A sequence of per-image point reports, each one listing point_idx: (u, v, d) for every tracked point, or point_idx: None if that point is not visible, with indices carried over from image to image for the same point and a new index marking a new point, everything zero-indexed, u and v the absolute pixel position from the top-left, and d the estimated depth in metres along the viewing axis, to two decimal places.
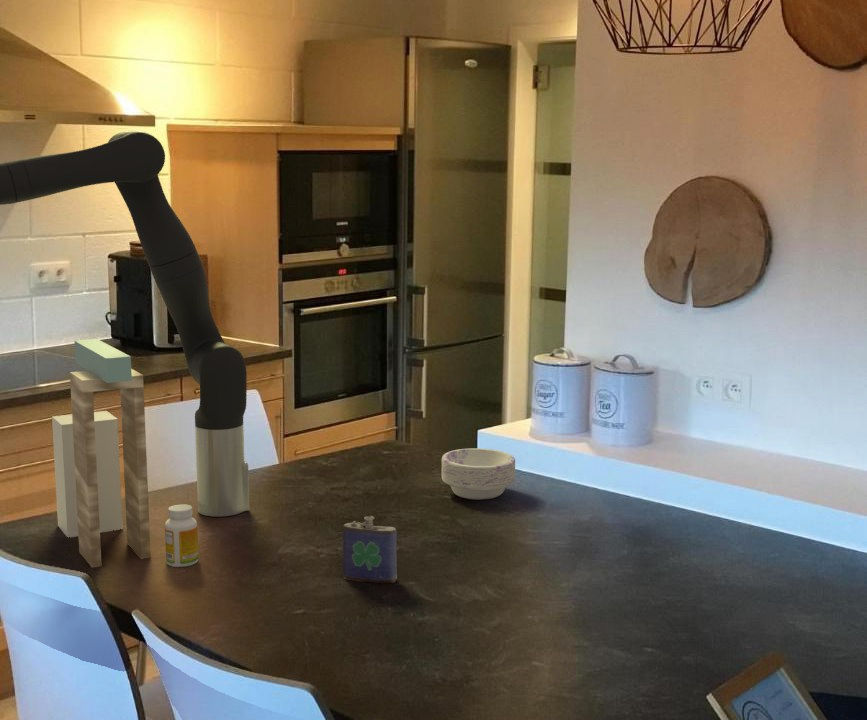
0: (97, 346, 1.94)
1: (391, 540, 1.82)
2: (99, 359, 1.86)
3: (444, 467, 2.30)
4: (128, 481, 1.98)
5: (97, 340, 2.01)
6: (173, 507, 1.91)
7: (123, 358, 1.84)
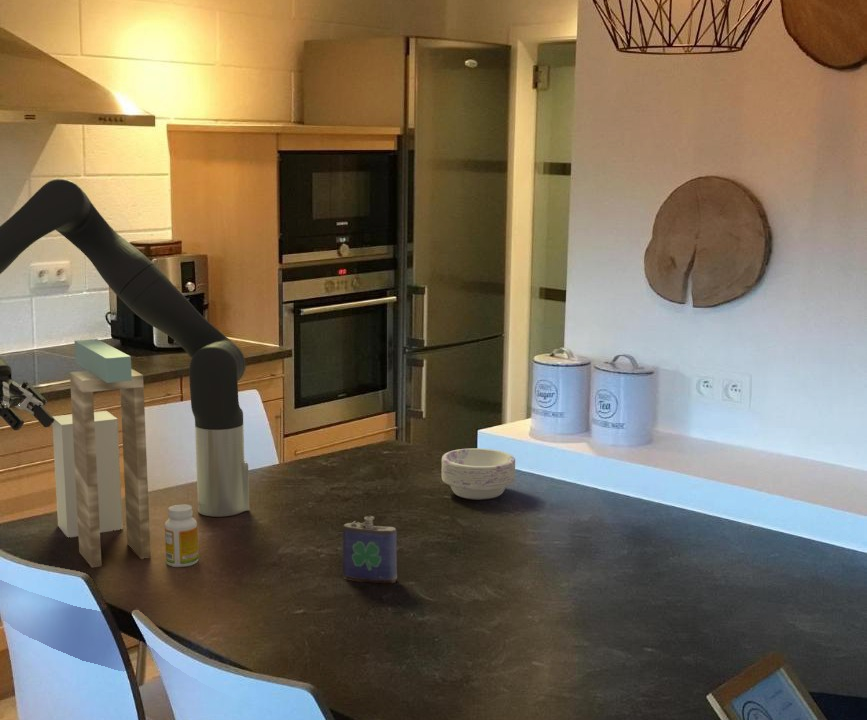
0: (97, 346, 1.94)
1: (391, 540, 1.82)
2: (99, 359, 1.86)
3: (444, 467, 2.30)
4: (128, 481, 1.98)
5: (97, 340, 2.01)
6: (173, 507, 1.91)
7: (123, 358, 1.84)
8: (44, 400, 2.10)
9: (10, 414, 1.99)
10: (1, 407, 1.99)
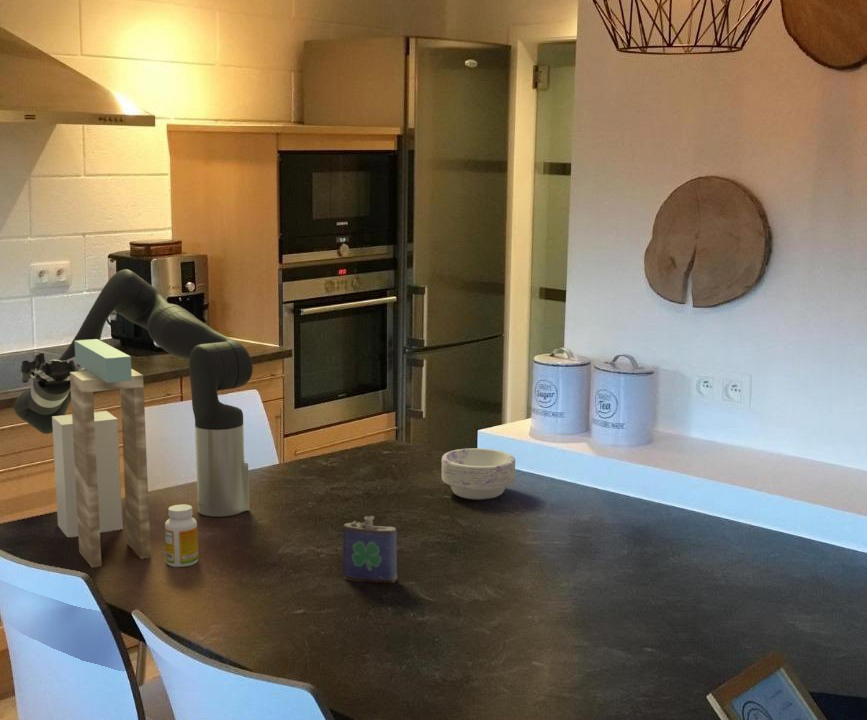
0: (97, 346, 1.94)
1: (391, 540, 1.82)
2: (99, 359, 1.86)
3: (444, 467, 2.30)
4: (128, 481, 1.98)
5: (97, 340, 2.01)
6: (173, 507, 1.91)
7: (123, 358, 1.84)
8: None
9: None
10: None
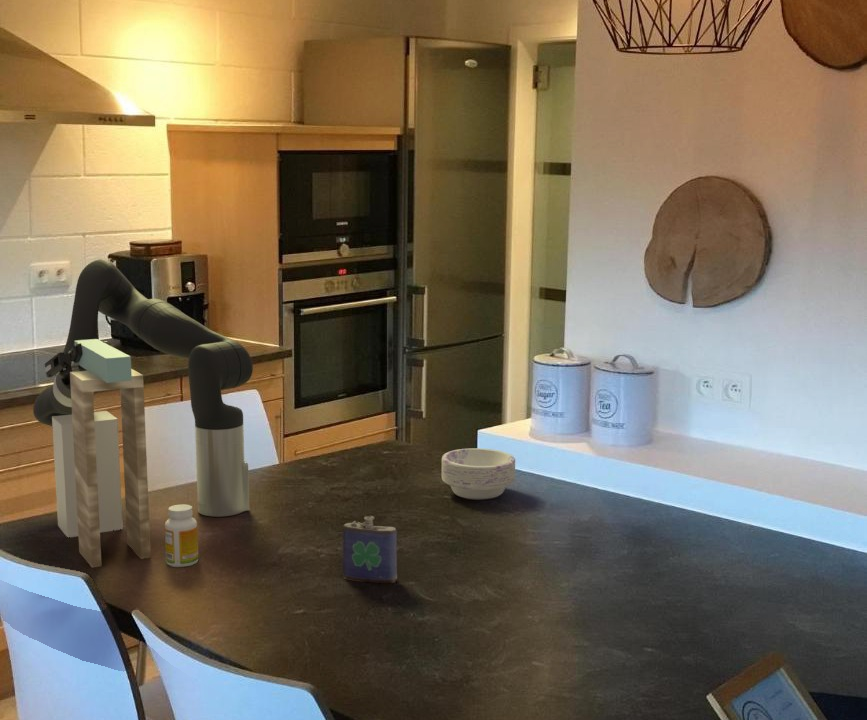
0: (97, 346, 1.94)
1: (391, 540, 1.82)
2: (99, 359, 1.86)
3: (444, 467, 2.30)
4: (128, 481, 1.98)
5: (97, 340, 2.01)
6: (173, 507, 1.91)
7: (123, 358, 1.84)
8: None
9: None
10: None
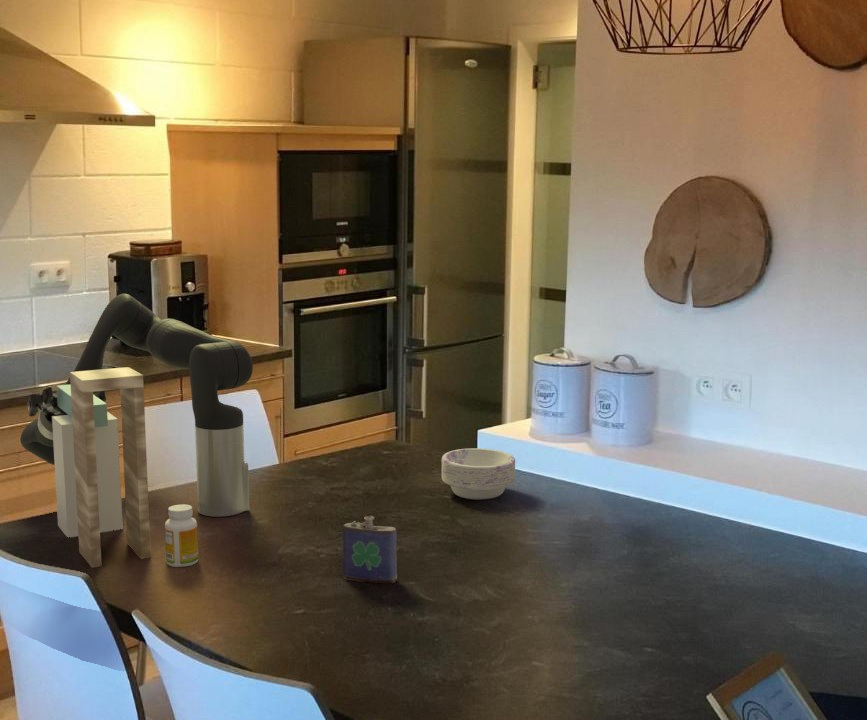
0: None
1: (391, 540, 1.82)
2: None
3: (444, 467, 2.30)
4: (128, 481, 1.98)
5: None
6: (173, 507, 1.91)
7: (100, 405, 2.00)
8: None
9: None
10: (39, 396, 2.15)
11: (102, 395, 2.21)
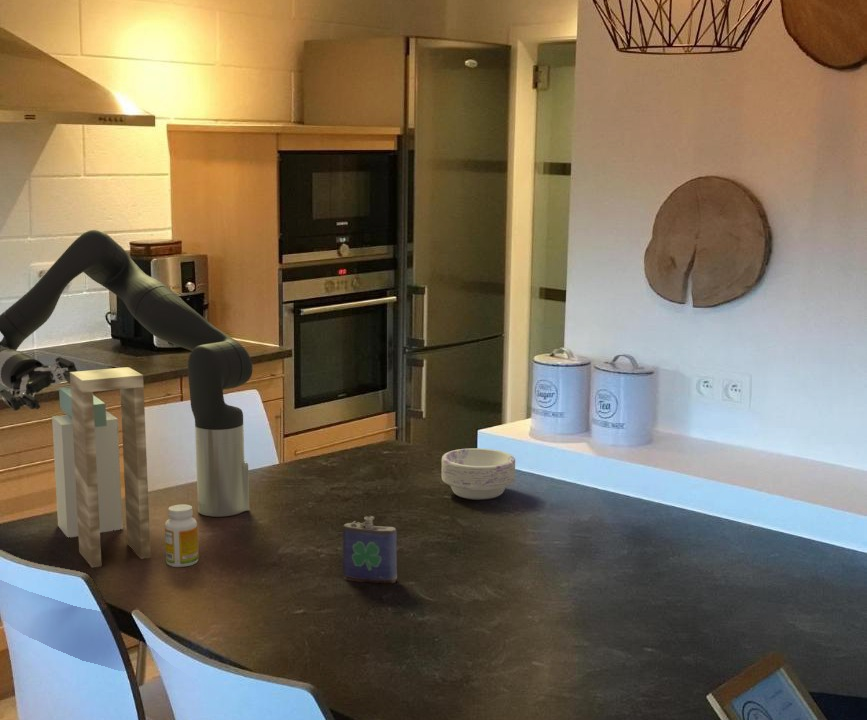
0: None
1: (391, 540, 1.82)
2: None
3: (444, 467, 2.30)
4: (128, 481, 1.98)
5: None
6: (173, 507, 1.91)
7: (98, 405, 1.98)
8: (70, 364, 2.21)
9: (26, 400, 2.14)
10: (19, 398, 2.15)
11: None
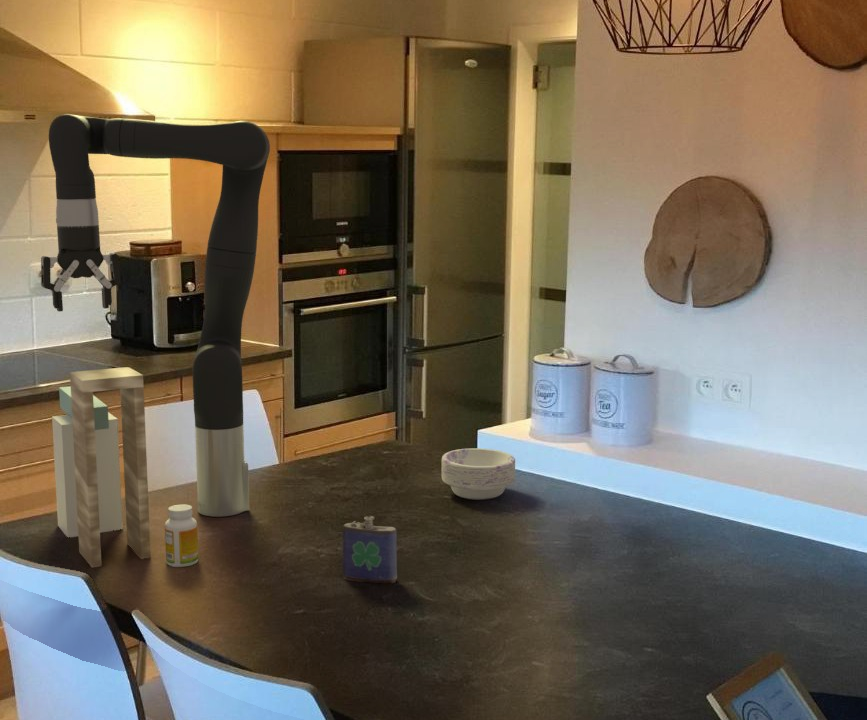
0: None
1: (391, 540, 1.82)
2: None
3: (444, 467, 2.30)
4: (128, 481, 1.98)
5: None
6: (173, 507, 1.91)
7: (100, 408, 1.98)
8: (117, 282, 2.16)
9: (55, 298, 2.11)
10: (52, 288, 2.10)
11: None
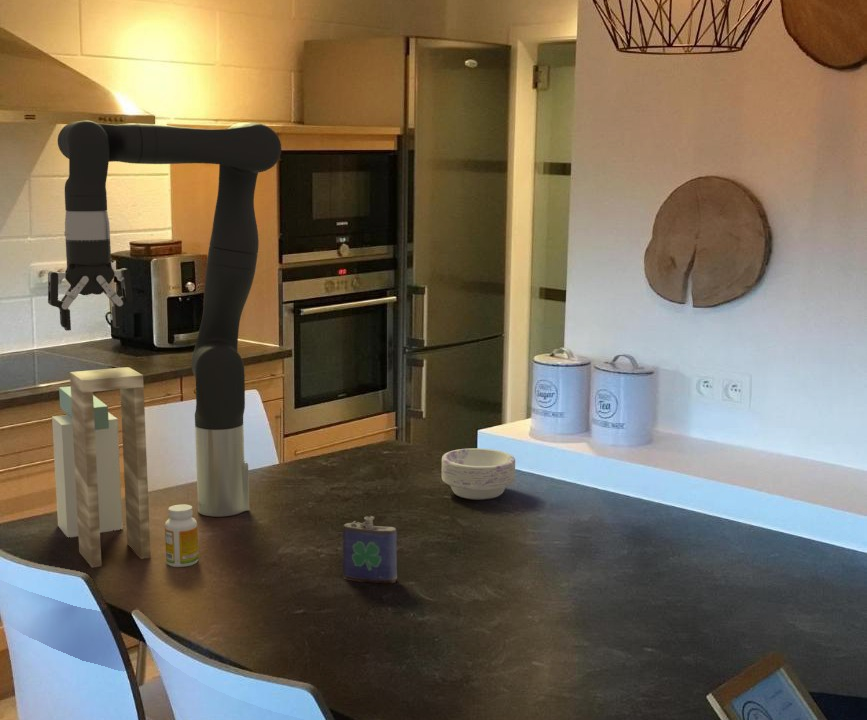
0: None
1: (391, 540, 1.82)
2: None
3: (444, 467, 2.30)
4: (128, 481, 1.98)
5: None
6: (173, 507, 1.91)
7: (100, 408, 1.98)
8: (128, 299, 2.02)
9: (63, 316, 1.98)
10: (60, 305, 1.97)
11: None
